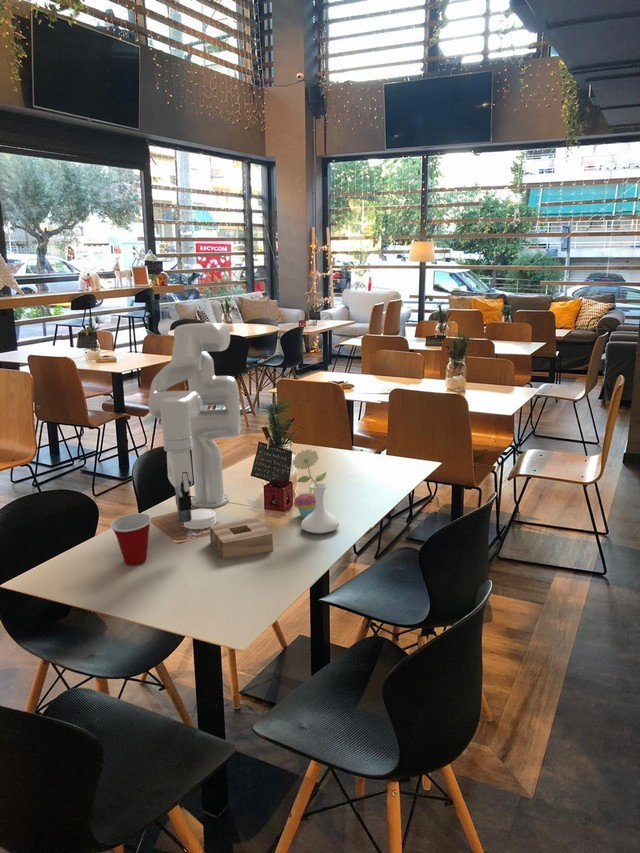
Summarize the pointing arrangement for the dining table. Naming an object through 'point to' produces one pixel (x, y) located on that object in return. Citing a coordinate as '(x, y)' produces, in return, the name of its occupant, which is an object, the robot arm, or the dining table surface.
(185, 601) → the dining table surface
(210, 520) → the white round disc stack
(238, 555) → the socket block
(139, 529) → the plastic cup
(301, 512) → the cupcake
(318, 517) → the flower in vase
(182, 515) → the steel pin
